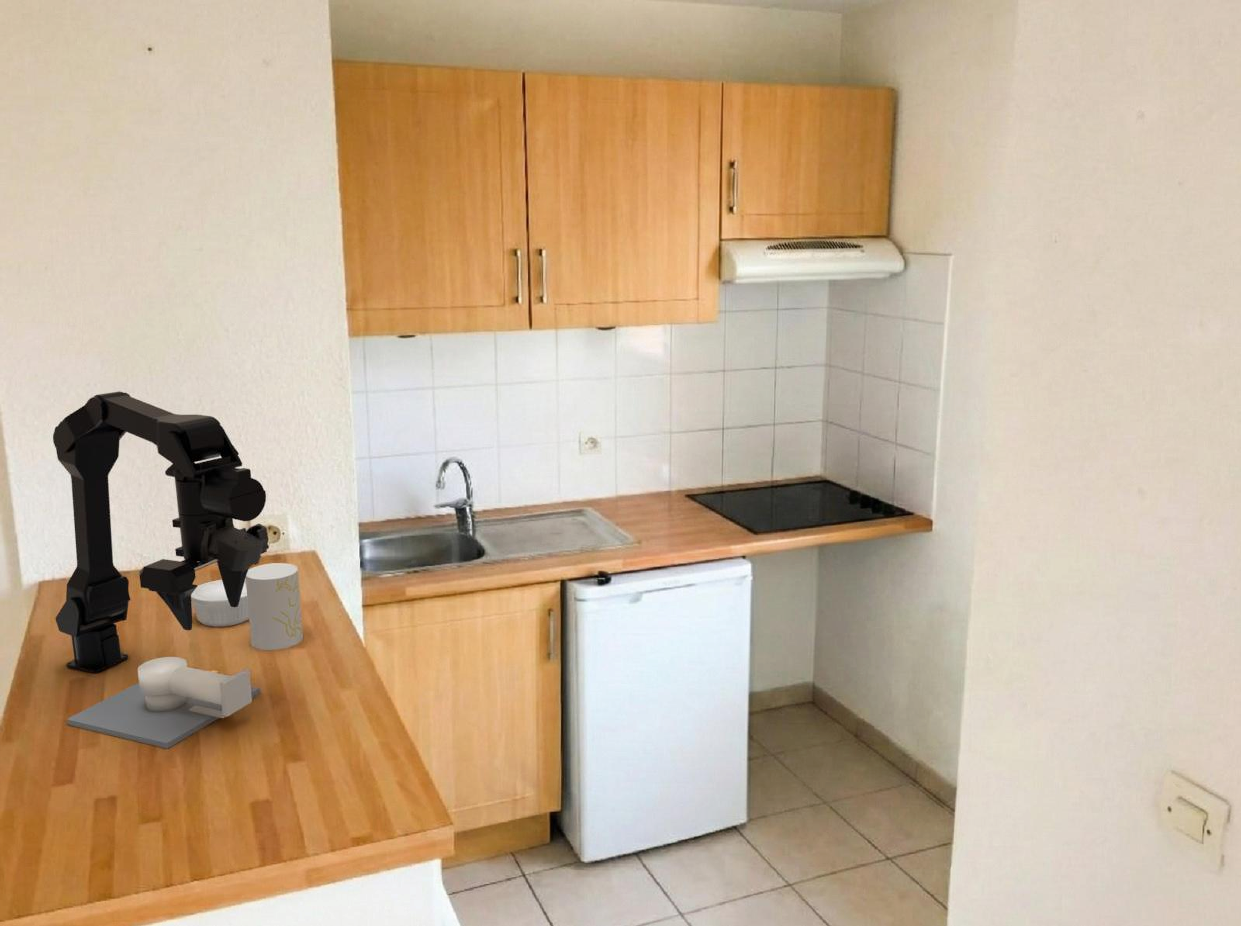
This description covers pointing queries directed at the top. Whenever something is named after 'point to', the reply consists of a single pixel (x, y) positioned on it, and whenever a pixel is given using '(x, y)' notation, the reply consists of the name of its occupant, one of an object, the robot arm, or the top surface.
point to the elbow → (195, 683)
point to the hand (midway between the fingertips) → (211, 617)
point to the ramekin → (218, 605)
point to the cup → (274, 606)
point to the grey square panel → (149, 716)
